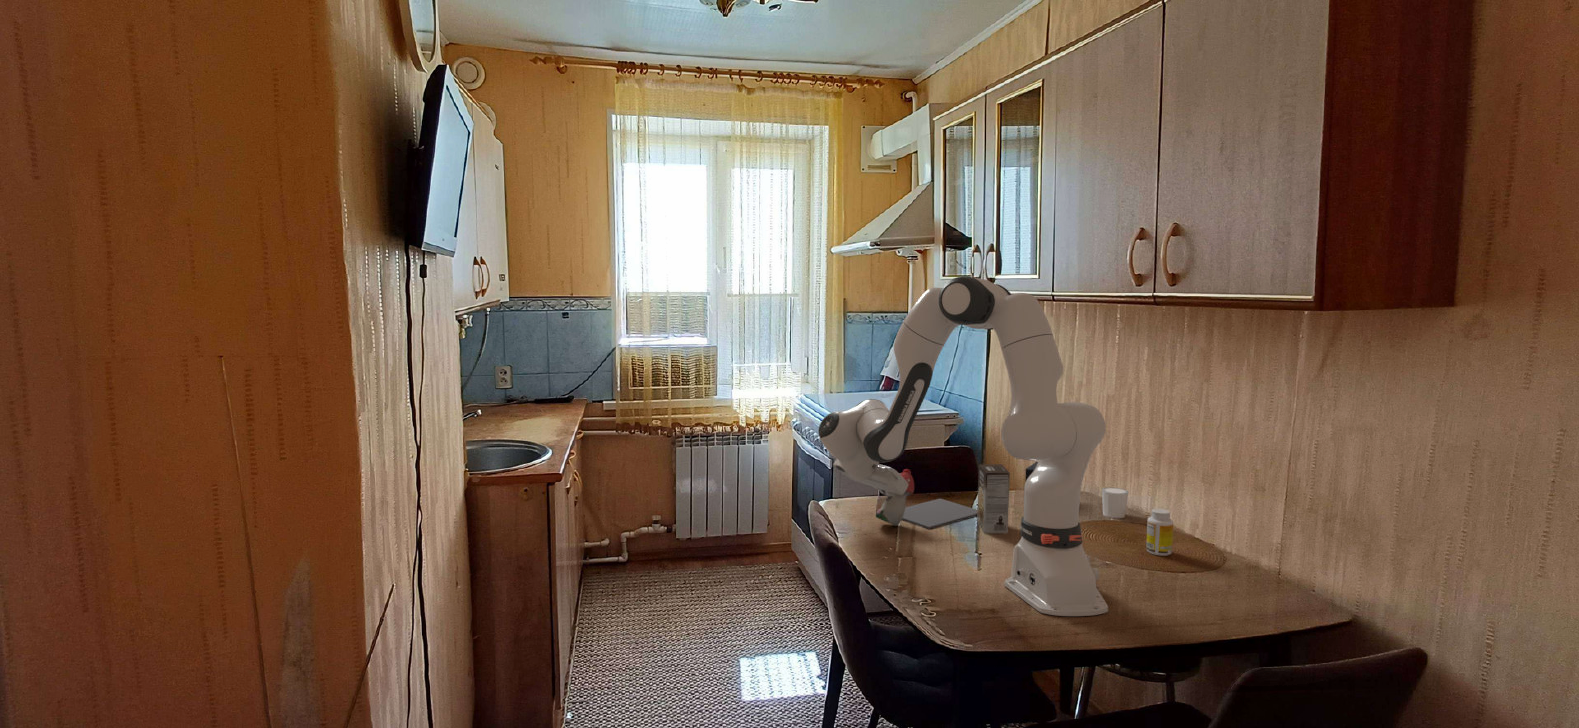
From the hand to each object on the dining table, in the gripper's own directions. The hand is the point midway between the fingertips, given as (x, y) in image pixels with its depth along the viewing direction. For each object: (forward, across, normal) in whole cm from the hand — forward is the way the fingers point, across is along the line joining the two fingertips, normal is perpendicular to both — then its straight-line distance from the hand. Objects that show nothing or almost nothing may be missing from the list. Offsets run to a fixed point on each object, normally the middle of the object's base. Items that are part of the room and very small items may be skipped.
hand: (888, 492), depth 202 cm
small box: (+44, -10, -31) cm, 54 cm away
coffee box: (+21, -18, -8) cm, 29 cm away
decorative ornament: (+5, 0, +6) cm, 8 cm away
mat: (+19, 0, -6) cm, 20 cm away
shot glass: (+46, -31, -33) cm, 65 cm away
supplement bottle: (+33, -53, -20) cm, 66 cm away
